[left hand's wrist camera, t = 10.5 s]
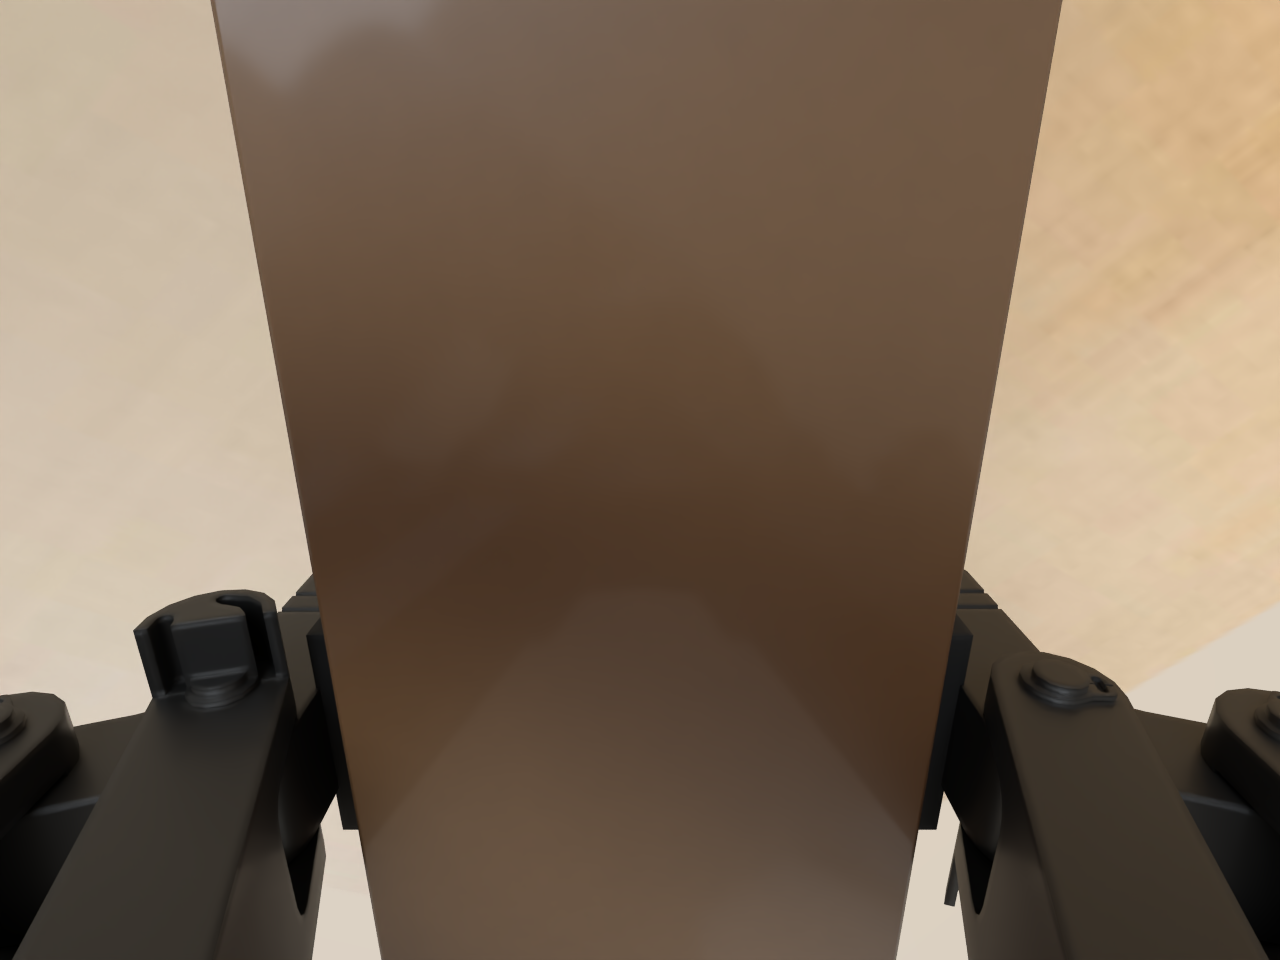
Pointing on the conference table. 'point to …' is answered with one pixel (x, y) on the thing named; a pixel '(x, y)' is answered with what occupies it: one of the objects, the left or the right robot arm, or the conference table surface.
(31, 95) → the conference table surface
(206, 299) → the conference table surface
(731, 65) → the beam
